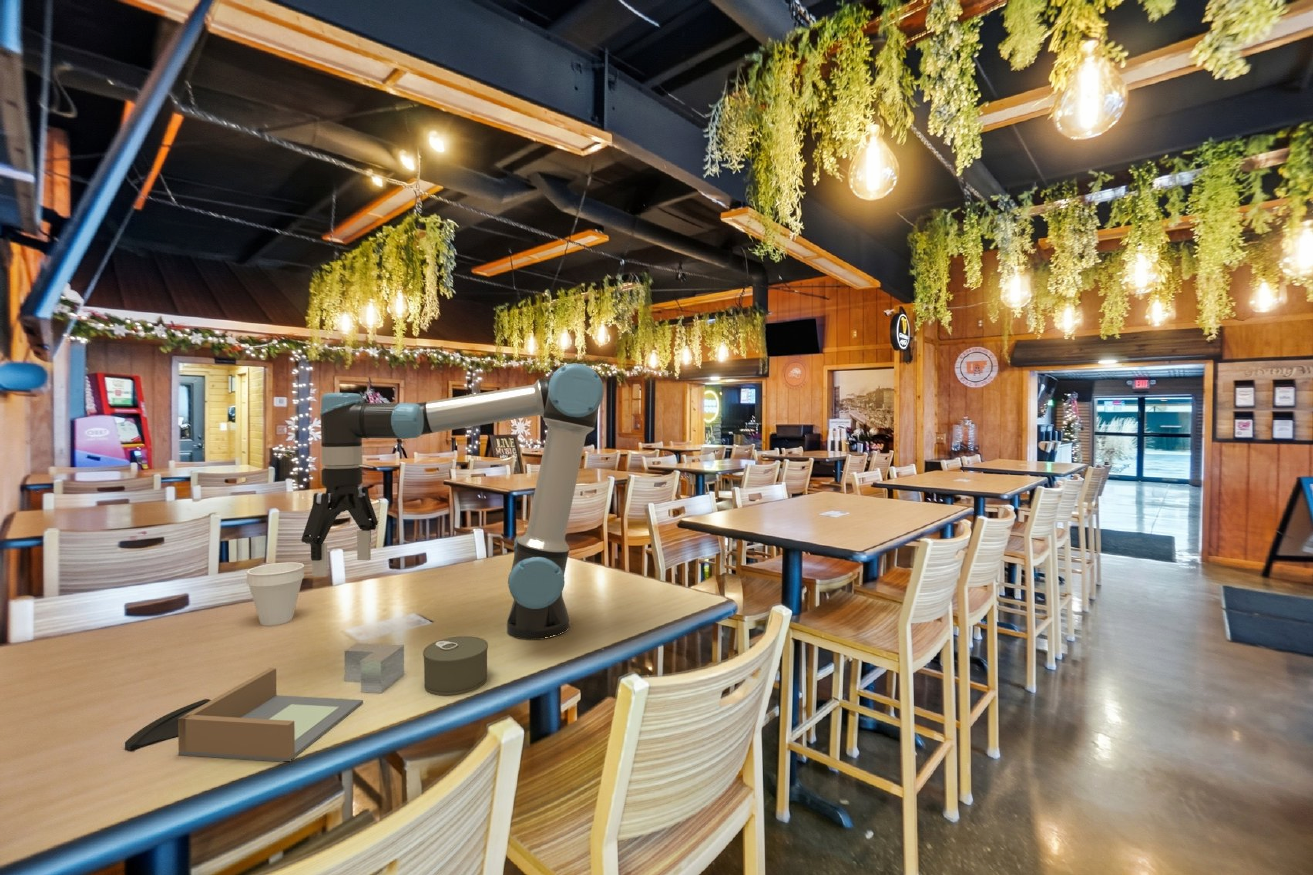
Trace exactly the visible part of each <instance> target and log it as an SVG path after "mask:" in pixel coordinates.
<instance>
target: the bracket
mask: <svg viewBox="0 0 1313 875" xmlns="http://www.w3.org/2000/svg"><path fill="white" fill-rule="evenodd" d="M404 675H405V645H404V644H386V643H384V644H383V643H366V642H365V643H363V642H356V643H355V644H353V645H352V646H350V647H348V648H346V649H345V650H344V682H356V683H360V693H371V694H382V693H383V692H384V691H386V690H387V689H389V688H390V686H393V684H395V683H396V682H397V681H398V680H399V679H401V678H402V677H404Z"/></svg>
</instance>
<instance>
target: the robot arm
mask: <svg viewBox="0 0 1313 875" xmlns="http://www.w3.org/2000/svg"><path fill="white" fill-rule="evenodd" d="M604 394H605V388H604V385H603V380H602V378H601V377H600V376H599V374H598V372H596V371H595V370H594V369H593V368H592V367H590V366H588V365H586V364H582V363H568V364H565V365H562V366H560V367H559V368H557V370H555V372H554V373H553V374H552V376H550V377H547V378H541V379H540V378H539V379H537V380H536V381H535V383H534V384H529V385H523V386H518V387H516V386H515V387H510V388H504V389H498V390H492V391H486V392H480V393H473V394H468V395H461V396H455V397H449V398H442V399H438V400H437V399H436V400H431V401H430V400H429V401H424V402H422V401H421V402H415V403H410V402H381V403H380V402H374V403H371V402H363V399H362V395H361V394H359V393H353V392H351V393H350V392H328V393H324V394H323V395H322V397H321V401H320V412H319V417H320V438H321V439H320V440H321V441H320V442H321V445H320V446H321V465H322V466H323V467H324V468H323V467H322V469H321V472H320V473H321V478H320V479H321V485H322V486H323V487H325V493H324V492H314V493H313V501H312V506H311V509H310V513H309V515H308V519H307V522H306V524H305V526H304V527H305V528H304V530H303V532H302V533H303V534H302V536H301V542H302V543H305V544H307V545H309V546H310V559H311V568H312V569H311V570H312V571H311V572H312V575H311V576H312V577H321V578H322V577H324V578H325V577H327V576H328V543H327V542H325V540H326V538H327V536H328V534H329V532H330V530H331V529H332V527H333V524H334V523H335V520H336V518H337V517H338V516H339V515H340V514H342V513H344V512H346V511H348V514H349V515H350V516H351V517H352V519H353V520H354V522H355V523H356V525H357V527H359V530H356V554H357V556H356V560H357V561H370V560H372V559H371V558H372V557H371V556H372V555H371V554H372V553H371V552H372V550H371V544H372V531H374V530H376V529H377V525H378V524H379V520H378V518H377V515H376V513H375V509H374V507H373V504H372V501H371V499H370V495H369V487H368V486H360V485H362V483H363V468H362V467H360V465H362V464H363V439H401V440H406V439H409V440H410V439H417V438H420V437H421V436H422V435H423V436H425V435H430V434H434V433H440V432H445V431H446V432H447V431H451V430H459V429H464V428H470V427H476V426H477V427H478V426H482V425H488V424H494V423H499V422H506V421H511V420H517V419H524V418H529V417H535V416H541V417H542V419H543V421H544V423H545V424H546V426H547V432H546V436H545V442H544V446H543V451H542V456H541V460H540V464H539V470H538V476H537V479H536V483H535V484H536V485H535V489H534V492H533V498H532V504H531V509H530V511H529V512H530V513H529V518H528V522H527V528H526V532H525V534H523V535H522V536H518V537H515V539H514V545H513V551H514V552H513V554H514V556H513V561H512V566H511V570H510V572H509V575H508V578H507V585H508V589H509V593H510V595H511V597H512V599H513V602H512V605H511V608H510V612H509V615H508V617H507V620H506V633H507V634H508V635H509V636H511V637H513V638H517V639H523V640H542V639H541V638H544V639H546V638H545V637H550V636H553V635H557V636H559V635H558V634H560V633H562V632H564V633H565V631H566V630H567V629H568V628H570V615H569V612H568V609H567V606H566V603H565V600H564V598H563V591H564V587H565V582H566V581H565V573H566V568H567V563H568V557H569V554H570V550H571V549H570V546H569V545H568V543H567V541H566V534H567V531H568V530H567V529H568V524H569V520H570V515H571V510H572V506H573V499H574V495H575V490H576V485H577V482H578V476H579V472H580V467H581V466H580V465H581V462H582V457H583V456H582V455H583V452H584V447H585V442H586V437H587V435H588V434H590V433H592V432H593V431H594V430H595V427H596V422H597V418H598V414H599V409H600V405H601V403H602V402H603V398H604ZM568 630H569V629H568ZM568 630H567V631H568ZM567 631H566V632H567ZM562 634H563V633H562ZM560 635H561V634H560ZM550 638H551V637H550Z"/></svg>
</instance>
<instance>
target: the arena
mask: <svg viewBox="0 0 1313 875" xmlns="http://www.w3.org/2000/svg"><path fill="white" fill-rule="evenodd" d="M210 700H211V701H209V702H207V703H205V704H204V705H202V706H200V707H198V708H196V709H195V710H193V711H191V712H189V713H187V714H185V715H184V716H182V717H180V718H178V737H177V739H178V742H177V743H178V744H177V745H178V756H189V757H202V758H205V757H206V758H220V759H232V760H233V759H235V760H247V759H251V761H262V760H264V762H277V761H290V760H291V759H292V760H294V759H295V758H296V757H298V754H299V753H300V754H301V753H303V752H304V751H305V750H306V749H308V748H309V747H310V746H312V745H313V744H314V743H316V742H317V741H318V740H319V739H320V738H322V737H323V736H324V735H325V734H326V733H328V732H329V731H330V730H332V728H334V727H335V726H336V725H337V723H338V722H339V723H340V722H342V721H343V720H344V719H345V718H347V717H348V716H349V715H350V714H352V713H353V712H354V711H355V710H356V709H358V708H359V707H360V706H362V705H363V704H364V700H363V699H355V698H354V699H351V698H333V697H315V696H313V697H312V696H296V695H279V694H277V668H276V667H270V668H269V667H268V668H267V669H266V670H264V671H262V672H260V673H258V674H256V675H255V676H253V677H251V678H250V679H247V680H246V681H244V682H242V683H240V684H238V685H237V686H235V687H233V688H230V690H228V691H225V692H223V693H222V694H220V695H218V696H216V697H215V698H213V699H210ZM362 703H363V704H362ZM358 706H359V707H358ZM357 707H358V708H357ZM347 715H348V716H347ZM342 719H343V720H342ZM339 723H338V724H339ZM317 739H318V740H317ZM308 746H309V747H308ZM304 749H305V750H304ZM303 750H304V751H303ZM300 754H299V755H300ZM295 756H296V757H295ZM294 757H295V758H294ZM293 758H294V759H293ZM252 759H253V760H252ZM292 760H291V761H292ZM291 761H290V762H291Z"/></svg>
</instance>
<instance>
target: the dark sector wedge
mask: <svg viewBox="0 0 1313 875" xmlns="http://www.w3.org/2000/svg"><path fill="white" fill-rule="evenodd" d="M211 700H212V699H210V698H209V699H208V698H204V699H201V700H199V701H195V702H193V703H191V704H188V705H185V706H183V707H180V708H178V709H175V710H173V711H171V712H169V713H166V714H165V715H162V716H160V717H159V718H156V720H154V721H152V722H150V723H149V724H147V725H145V726H144V727H143V728H141V729H140V730H138V731H137V732H134V733H133V735H131V736H130V737H129V738H128V739H127V740H126V741H125V742H124V750H125V751H127V752H133V751H136V750H138V749H142V748H145V747H148V746H152V745H154V744H158V743H162V742H165V741H168V740H173V739H176V738H177V739H178V718H180V717H182V716H184V715H185V714H187V713H189V712H191V711H193V710H195V709H196V708H198V707H200V706H202V705H204V704H205V703H207V702H209V701H211Z"/></svg>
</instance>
